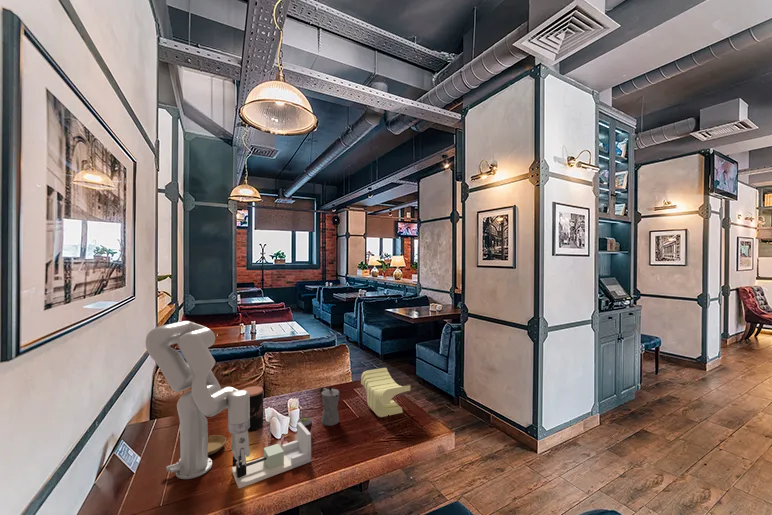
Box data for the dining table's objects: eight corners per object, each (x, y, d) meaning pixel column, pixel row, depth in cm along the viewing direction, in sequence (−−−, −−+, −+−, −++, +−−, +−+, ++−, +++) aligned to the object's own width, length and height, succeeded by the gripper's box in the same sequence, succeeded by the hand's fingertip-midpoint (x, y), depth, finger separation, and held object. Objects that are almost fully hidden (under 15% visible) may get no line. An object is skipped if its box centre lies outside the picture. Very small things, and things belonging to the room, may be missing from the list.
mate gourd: (305, 430, 163) (305, 399, 163) (316, 436, 158) (316, 404, 158) (292, 436, 158) (292, 405, 158) (303, 442, 153) (303, 409, 153)
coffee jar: (247, 434, 160) (247, 396, 160) (235, 427, 166) (235, 391, 166) (267, 425, 168) (267, 389, 168) (255, 419, 175) (255, 384, 175)
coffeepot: (345, 422, 171) (345, 387, 171) (330, 429, 164) (329, 392, 164) (328, 412, 182) (328, 379, 182) (313, 418, 175) (313, 384, 175)
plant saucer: (183, 462, 138) (183, 455, 138) (193, 443, 152) (193, 437, 152) (222, 456, 142) (222, 450, 142) (228, 438, 156) (228, 433, 156)
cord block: (238, 480, 125) (238, 466, 125) (234, 470, 131) (234, 457, 131) (283, 463, 135) (283, 451, 135) (278, 455, 141) (278, 443, 141)
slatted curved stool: (361, 401, 195) (361, 371, 195) (386, 397, 202) (386, 367, 202) (382, 425, 168) (382, 390, 168) (410, 419, 174) (410, 385, 174)
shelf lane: (238, 488, 123) (238, 457, 123) (232, 471, 133) (231, 442, 133) (311, 461, 139) (311, 433, 139) (300, 447, 149) (300, 422, 149)
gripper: (255, 431, 123) (255, 479, 124) (244, 413, 138) (244, 456, 138) (233, 437, 119) (233, 487, 119) (224, 418, 133) (224, 462, 134)
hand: (239, 470), depth 129 cm, fingers open, 7 cm apart
